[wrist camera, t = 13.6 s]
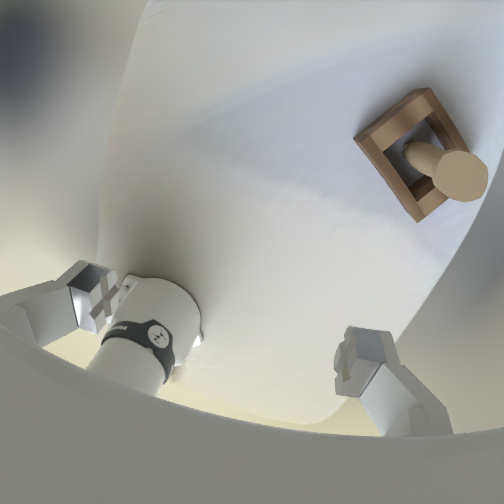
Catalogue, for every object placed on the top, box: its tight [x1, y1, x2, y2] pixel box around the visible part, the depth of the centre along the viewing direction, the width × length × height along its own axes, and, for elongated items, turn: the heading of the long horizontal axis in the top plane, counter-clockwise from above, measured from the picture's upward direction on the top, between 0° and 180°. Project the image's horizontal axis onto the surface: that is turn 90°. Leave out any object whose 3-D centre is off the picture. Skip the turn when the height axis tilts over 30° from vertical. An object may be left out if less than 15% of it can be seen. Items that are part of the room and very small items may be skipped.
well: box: [353, 88, 470, 223], centre depth 33 cm, size 12×13×5 cm
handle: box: [402, 141, 488, 202], centre depth 29 cm, size 5×6×15 cm
